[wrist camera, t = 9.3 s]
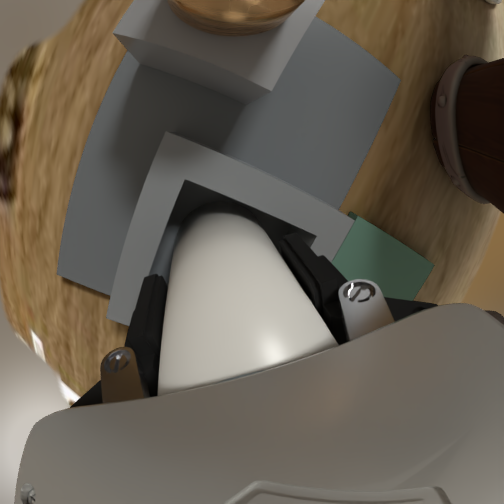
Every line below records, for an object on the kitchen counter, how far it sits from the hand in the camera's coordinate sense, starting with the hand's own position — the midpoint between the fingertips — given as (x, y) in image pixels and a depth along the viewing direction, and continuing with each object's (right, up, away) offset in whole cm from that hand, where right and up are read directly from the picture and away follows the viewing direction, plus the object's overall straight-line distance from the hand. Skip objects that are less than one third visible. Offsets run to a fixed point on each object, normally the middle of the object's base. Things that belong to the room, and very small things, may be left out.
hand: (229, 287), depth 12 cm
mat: (+10, -2, +9) cm, 13 cm away
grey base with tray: (-1, +7, +3) cm, 7 cm away
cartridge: (-1, +2, +4) cm, 4 cm away
